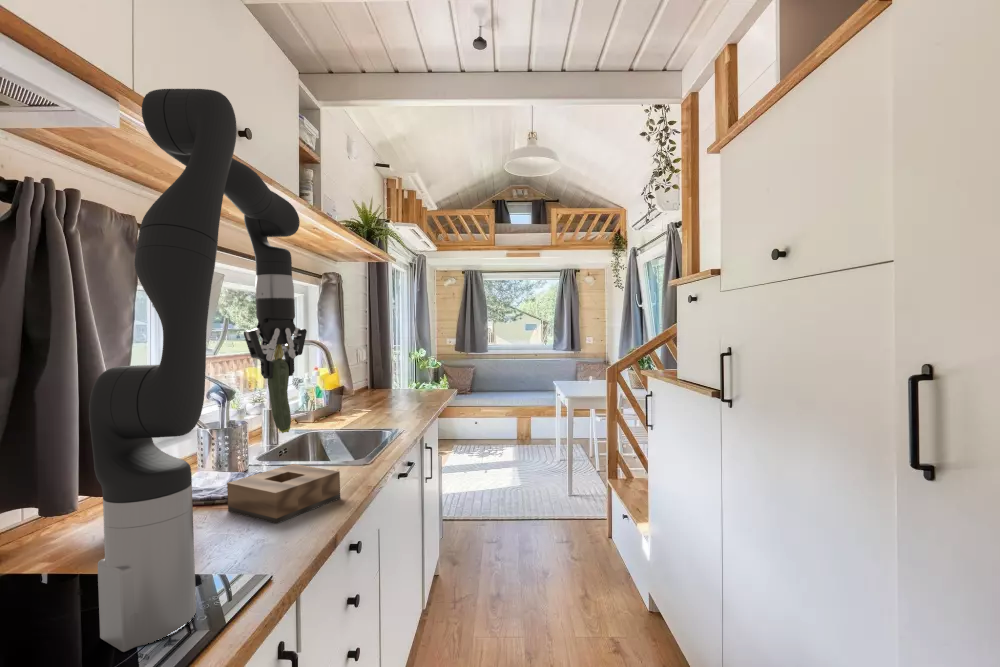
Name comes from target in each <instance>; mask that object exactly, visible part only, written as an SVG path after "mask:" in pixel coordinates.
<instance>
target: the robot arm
mask: <svg viewBox="0 0 1000 667" xmlns="http://www.w3.org/2000/svg"><path fill="white" fill-rule="evenodd" d="M141 117H142V118H141V119H142V121H143V124H144V128H145V129H146V132H147V134H148V135H149V137H150V138H151V140H152V141H153V142H154V143H155V144H156V145H157V146H158V147H159V148H160V149H161V150H162V151H163V152H165V153H166V154H168V155H169V156H170V157H172V158H173V159H175V160H176V161H178V162H179V163H181V164H182V165H184V166H185V168H184V169H183V170H182V172H181V174H180V175H179V176H178V177H177V179H175V181H174V182H173V183H171V185H170V186H169V187H168V188H167V189H166V190H165V191H163V193H162V194H161V195H160V196H159V197H157V199H156V200H155V201H154V202H153V203H152V204H151V206H150V207H149V208H148V210H147V211H146V212H145V214H144V216H143V219H142V220H141V223H140V226H139V232H138V237H137V244H136V249H135V256H134V270H135V273H136V277H137V278H138V281H139V282H140V285H141V286H142V289H143V290H144V292H145V294H146V296H147V297H148V299H149V300H150V301H149V302H150V303H152V306H153V307H154V310H155V311H156V313H157V316H158V317H159V320H160V323H161V328H162V351H161V352H162V353H161V358H160V363H159V364H143V365H140V364H139V365H121V366H114V367H111V368H109V369H106V370H105V371H104V372H102V373H101V374H100V375H99V376H98V377H97V379H96V380H95V381H94V384H93V386H92V388H91V392H90V397H89V401H88V402H89V403H88V419H89V420H88V421H89V430H90V438H91V439H90V440H91V448H92V458H93V469H94V473H95V476H96V480H97V481H98V483H99V485H100V486H101V490H102V507H103V508H102V511H103V514H102V516H103V538H104V539H103V542H104V558H102V559H100V560H98V562H97V582H98V583H97V586H98V589H97V590H98V608H99V610H98V614H99V615H98V616H99V638H100V639H101V640H103V641H104V642H106V643H108V644H109V645H111V646H112V647H114V648H116V649H118V650H119V651H120V652H123V653H125V652H128V651H130V650H132V649H134V648H137V647H141V646H144V645H149V644H151V643H155V642H157V641H156V640H158V639H161V640H163V639H164V638H163V637H166V636H167V635H168V634H170V633H171V632H173V631H175V630H177V629H178V628H180V627H181V626H183V625H184V624H185V623H187V622H188V621H190V620H191V618H192V617H193V616H194V615H195V613H196V614H197V594H196V569H195V568H196V566H195V540H194V539H195V538H194V537H195V536H194V514H193V513H194V511H193V510H194V509H193V508H194V507H193V504H194V503H193V482H192V481H193V479H192V478H193V477H192V468H191V465H190V464H189V462H187V461H186V460H184V459H181V458H178V457H176V456H173V455H170V454H169V453H167V452H165V451H163V450H161V449H160V448H159V447H158V446H157V445H156V444H155V442H154V440H153V438H154V439H155V438H175V437H181V436H185V435H187V434H189V433H190V432H192V431H193V430H194V429H195V427H196V426H197V424H198V422H199V420H200V418H201V414H202V411H203V409H204V408H203V407H204V404H205V403H204V401H205V392H206V367H207V366H206V365H207V360H206V359H207V331H208V330H207V329H208V317H209V308H210V299H211V292H212V284H213V279H214V273H215V267H216V261H217V260H216V259H217V252H218V246H219V244H218V242H219V231H220V223H221V222H220V221H221V212H222V206H223V202H224V201H223V200H224V196H225V197H226V198H227V199H228V200H229V201H230V202H231V203H232V204H233V205H234V206H235V207H236V208H237V210H239V212H241V213H242V214H243V221H244V224H245V229H246V231H247V234H248V236H249V240H250V243H251V246H252V250H253V254H254V258H255V285H254V286H255V287H254V288H255V289H254V290H255V311H256V312H255V314H256V319H257V324H256V327H255V328H253V329H251V330H250V329H249V330H244V331H243V336H244V340H245V342H246V345H247V348H248V351H249V354H250V358H252V359H256V360H259V362H260V375H261V377H263V379H266V380H267V379H270V378H272V377H273V371H272V357H273V355H274V354H273V353H274V351H275V348H276V345H277V344H281V345H282V349H283V353H284V355H283V358H282V359H283V360H285V361H286V362H287V364H288V366H289V377H293V375H294V373H295V358H296V357H297V356H301V355H303V351H304V346H305V343H306V338H307V332H308V331H307V329H306V328H299V327H296V325H295V322H294V321H295V318H296V307H295V286H294V285H295V284H294V280H293V266H292V265H293V264H292V262H293V261H292V254H291V252H290V250H288V249H286V248H283V247H279V246H273V245H271V244H270V243H269V240H268V238H282V237H283V238H284V237H287V238H288V237H291V236H293V235H295V234H296V233H297V232H298V230H299V228H300V221H301V220H300V217H299V213H298V211H297V210H296V208H295V207H294V206H293V205H292V203H290V202H289V200H287V199H286V198H284V197H282V196H281V195H279V194H278V193H276V192H274V191H272V190H271V189H270V188H269V187H268V185H267V183H265V181H264V180H263V179H262V178H261V176H260V175H259V174H258V173H257V172H256V171H255V170H253V169H252V168H251V167H249V166H247V165H246V164H245V163H243V162H241V161H239V160H237V159H235V158H233V156H234V152H235V147H236V144H237V143H236V142H237V134H238V133H237V118H236V112H235V110H234V108H233V105H232V103H231V101H230V100H229V99H228V97H227V96H225V94H223V93H222V92H220V91H217V90H213V89H208V88H207V89H206V88H159V89H154V90H151V91H149V92H147V93H146V94H145V95H144V97H143V99H142V103H141ZM259 338H261V341H260V340H259ZM155 445H156V446H155ZM195 616H196V615H195ZM162 638H163V639H162ZM166 638H167V637H166ZM154 641H155V642H154ZM148 643H149V644H148Z"/></svg>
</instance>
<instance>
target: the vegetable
mask: <svg viewBox="0 0 1000 667" xmlns="http://www.w3.org/2000/svg"><path fill="white" fill-rule="evenodd" d="M273 353H274V354H273V359H271V361H272V371H273V377H272V378H270V379H266V380H267V387H268V391H269V392H268V393H269V400H270V401H269V402H270V405H271V406H270V409H271V414H272V417H273V418H272V419H273V421H274V424H275V427H276V428H277V429H278V431H280V432H281V434H284V433H289V432H290V430H291V423H292V416H291V408H290V404H289V397H288V396H289V394H288V387H289V378H290V376H289V366H288V364H287V362H286V361H285V360H283V359H284V356H283V355H284V353H283V349H282V345H281V344H277V345H276V347H275V350H274V352H273Z"/></svg>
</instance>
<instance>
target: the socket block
mask: <svg viewBox="0 0 1000 667" xmlns="http://www.w3.org/2000/svg"><path fill="white" fill-rule="evenodd" d="M340 473H341V472H340V471H338V470H334V469H326V468H322V467H321V468H320V467H314V466H308V465H302V464H296V463H291V464H288V465H284V466H280V467H278V468H273V469H270V470H266V471H264V472H263V471H262V472H260V473H256V474H253V475H249V476H246V477H243V478H239V479H236V480H232V481H229V482H228V481H227V483H226V484H227V485H226V488H227V491H226V492H227V512H230V513H234V514H238V515H242V516H245V517H249V518H253V519H257V520H260V521H265V522H269V523H273V524H276V525H278V524H279V523H282V522H284V521H287V520H289V519H291V518H295V517H297V516H300V515H302V514H305V513H307V512H309V510H310V511H312V510H314V508H315V509H316V507H317V508H319V507H318V506H320V507H322V506H324V505H323V504H325V505H326V503H327V504H330V503H332V502H334V500H335V501H337V500H339V498H340V499H341V478H340V476H341V474H340ZM336 499H337V500H336ZM331 501H332V502H331ZM329 502H330V503H329ZM321 505H322V506H321ZM304 512H305V513H304Z"/></svg>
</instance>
